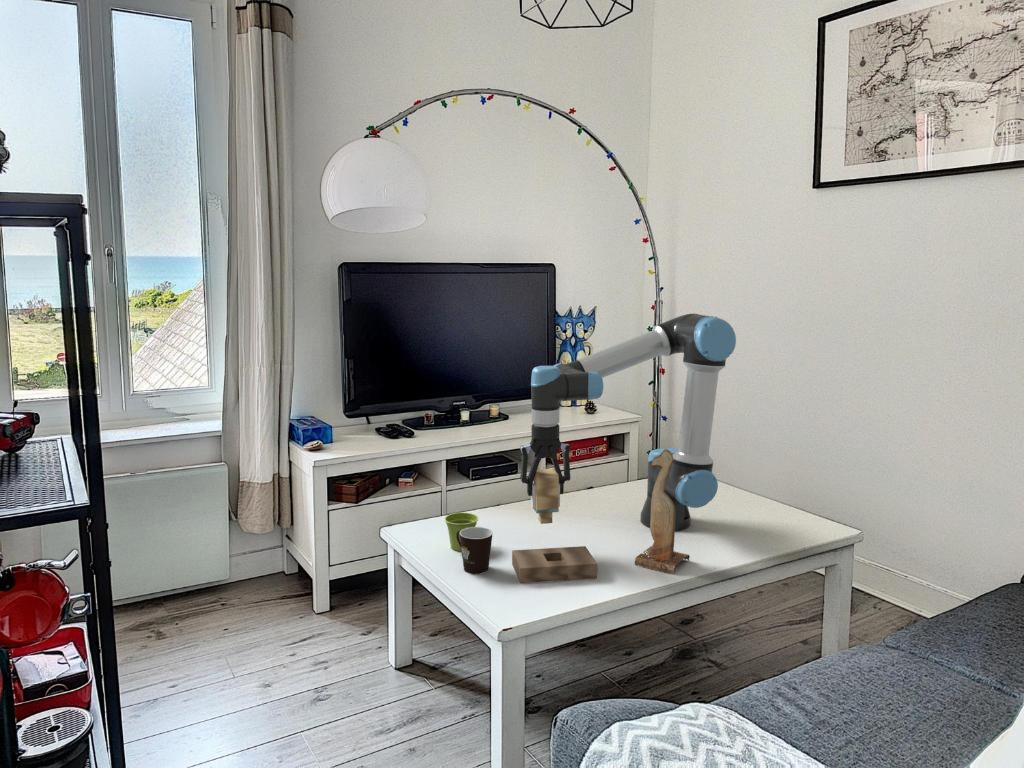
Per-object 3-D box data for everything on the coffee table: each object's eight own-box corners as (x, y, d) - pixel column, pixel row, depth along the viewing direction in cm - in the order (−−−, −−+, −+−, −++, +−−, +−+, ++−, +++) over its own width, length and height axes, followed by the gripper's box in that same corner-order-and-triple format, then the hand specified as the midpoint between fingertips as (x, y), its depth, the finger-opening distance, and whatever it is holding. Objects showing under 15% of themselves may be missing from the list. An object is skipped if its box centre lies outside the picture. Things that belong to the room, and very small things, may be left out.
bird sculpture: (649, 553, 218) (649, 441, 213) (690, 560, 212) (691, 445, 207) (634, 567, 209) (634, 450, 203) (676, 575, 203) (677, 455, 197)
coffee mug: (496, 573, 203) (496, 537, 201) (463, 577, 200) (463, 540, 199) (484, 556, 214) (485, 521, 212) (453, 560, 211) (453, 524, 210)
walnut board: (585, 560, 212) (585, 546, 211) (597, 578, 200) (597, 563, 200) (512, 564, 209) (512, 550, 208) (520, 583, 197) (520, 568, 196)
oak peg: (553, 517, 219) (553, 468, 217) (558, 524, 213) (558, 474, 211) (532, 518, 218) (532, 469, 216) (536, 526, 212) (536, 476, 210)
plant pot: (474, 555, 215) (474, 524, 213) (440, 552, 217) (440, 522, 215) (481, 542, 224) (481, 513, 222) (449, 540, 226) (449, 511, 224)
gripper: (576, 419, 216) (575, 499, 220) (508, 422, 213) (508, 503, 217) (583, 425, 209) (582, 508, 213) (512, 428, 206) (513, 512, 210)
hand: (545, 505), depth 215 cm, fingers closed on oak peg, 6 cm apart
